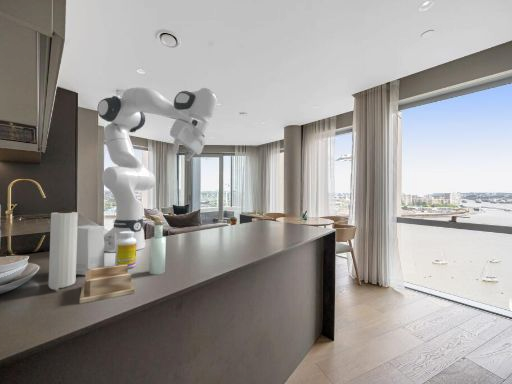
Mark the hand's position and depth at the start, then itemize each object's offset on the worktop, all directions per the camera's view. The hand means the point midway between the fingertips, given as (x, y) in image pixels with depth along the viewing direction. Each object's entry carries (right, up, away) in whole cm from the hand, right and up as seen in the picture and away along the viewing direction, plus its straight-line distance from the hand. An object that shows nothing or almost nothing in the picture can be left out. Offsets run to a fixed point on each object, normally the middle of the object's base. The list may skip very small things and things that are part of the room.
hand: (181, 156), depth 94 cm
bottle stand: (-11, -42, -29) cm, 52 cm away
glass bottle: (-4, -43, -14) cm, 45 cm away
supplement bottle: (-17, -42, -9) cm, 47 cm away
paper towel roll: (-26, -42, -27) cm, 57 cm away
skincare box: (-27, -42, -16) cm, 53 cm away
